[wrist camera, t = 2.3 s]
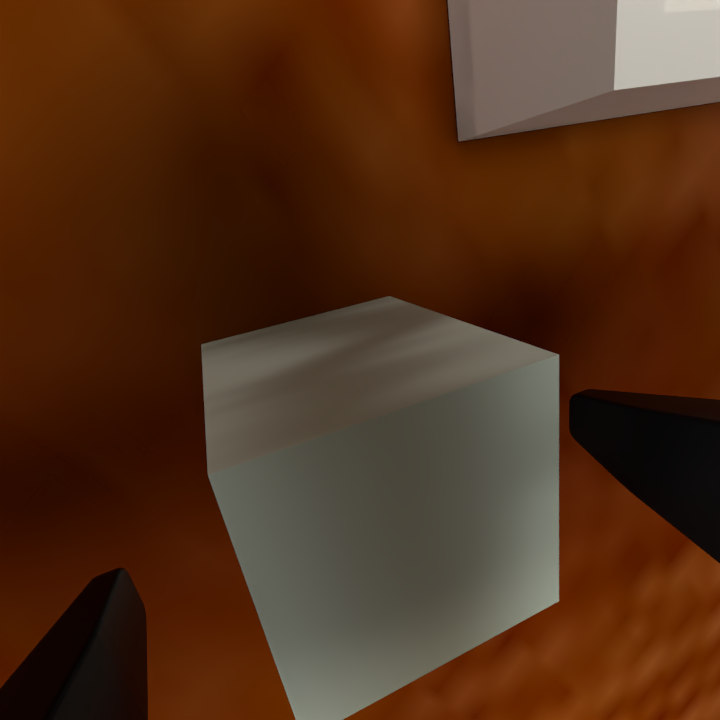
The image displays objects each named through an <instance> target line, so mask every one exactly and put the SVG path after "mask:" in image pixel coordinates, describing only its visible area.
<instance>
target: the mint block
mask: <svg viewBox="0 0 720 720" xmlns="http://www.w3.org/2000/svg"><path fill="white" fill-rule="evenodd" d="M201 352H202V372H203V391H204V411H205V431H206V450H207V470H208V477H209V480H210V483H211V485H212V488H213V491H214V494H215V497H216V499H217V502H218V505H219V508H220V510H221V513H222V516H223V519H224V522H225V524H226V527H227V530H228V533H229V535H230V538H231V541H232V544H233V547H234V549H235V552H236V555H237V558H238V560H239V563H240V566H241V569H242V572H243V574H244V577H245V580H246V583H247V585H248V588H249V591H250V594H251V597H252V599H253V602H254V605H255V608H256V610H257V613H258V616H259V619H260V622H261V624H262V627H263V630H264V633H265V635H266V638H267V641H268V644H269V647H270V649H271V652H272V655H273V658H274V660H275V663H276V666H277V669H278V672H279V674H280V677H281V680H282V683H283V685H284V688H285V691H286V694H287V697H288V699H289V702H290V705H291V708H292V710H293V713H294V716H295V719H296V720H343V719H345V718H346V717H348V716H350V715H352V714H354V713H356V712H357V711H359V710H361V709H363V708H365V707H367V706H368V705H370V704H372V703H374V702H376V701H377V700H379V699H381V698H383V697H385V696H387V695H388V694H390V693H392V692H394V691H396V690H398V689H399V688H401V687H403V686H405V685H407V684H408V683H410V682H412V681H414V680H416V679H418V678H419V677H421V676H423V675H425V674H427V673H429V672H430V671H432V670H434V669H436V668H438V667H439V666H441V665H443V664H445V663H447V662H449V661H450V660H452V659H454V658H456V657H458V656H460V655H461V654H463V653H465V652H467V651H469V650H470V649H472V648H474V647H476V646H478V645H480V644H481V643H483V642H485V641H487V640H489V639H491V638H492V637H494V636H496V635H498V634H500V633H502V632H503V631H505V630H507V629H509V628H511V627H512V626H514V625H516V624H518V623H520V622H522V621H523V620H525V619H527V618H529V617H531V616H533V615H534V614H536V613H538V612H540V611H542V610H543V609H545V608H547V607H549V606H551V605H553V604H554V603H556V602H558V601H559V355H558V354H556V353H553V352H550V351H547V350H544V349H541V348H538V347H535V346H532V345H530V344H527V343H524V342H521V341H518V340H515V339H512V338H509V337H506V336H504V335H501V334H498V333H495V332H492V331H489V330H486V329H483V328H480V327H478V326H475V325H472V324H469V323H466V322H463V321H460V320H457V319H455V318H452V317H449V316H446V315H443V314H440V313H437V312H434V311H431V310H429V309H426V308H423V307H420V306H417V305H414V304H411V303H408V302H405V301H403V300H400V299H397V298H394V297H391V296H387V297H384V298H380V299H376V300H372V301H368V302H364V303H360V304H356V305H352V306H349V307H345V308H341V309H337V310H333V311H329V312H325V313H321V314H317V315H314V316H310V317H306V318H302V319H298V320H294V321H290V322H286V323H282V324H279V325H275V326H271V327H267V328H263V329H259V330H255V331H251V332H247V333H244V334H240V335H236V336H232V337H228V338H224V339H220V340H216V341H212V342H209V343H205V344H201Z"/></svg>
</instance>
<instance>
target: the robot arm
mask: <svg viewBox="0 0 720 720" xmlns="http://www.w3.org/2000/svg"><path fill="white" fill-rule="evenodd" d="M569 430H570V433H571V435H572V437H573V438H574V439H575V440H576V441H577V442H578V443H579V444H580V445H581V446H582V447H583V448H584V449H585V450H586V451H587V452H588V453H589V454H591V455H592V456H593V457H594V458H595V459H596V460H597V461H598V462H599V463H600V464H601V465H602V466H603V467H604V468H605V469H606V470H607V471H609V472H610V473H611V474H612V475H613V476H614V477H615V478H616V479H617V480H618V481H619V482H620V483H621V484H622V485H624V486H625V487H626V488H627V489H628V490H629V491H630V492H631V493H633V494H634V495H635V496H636V497H637V498H639V499H640V500H641V501H642V502H644V503H645V504H646V505H647V506H649V507H650V508H651V509H652V510H654V511H655V512H656V513H657V514H659V515H660V516H661V517H662V518H664V519H665V520H666V521H667V522H669V523H670V524H671V525H672V526H674V527H675V528H676V529H677V530H679V531H680V532H681V533H682V534H684V535H685V536H686V537H687V538H689V539H690V540H691V541H692V542H694V543H695V544H696V545H697V546H699V547H700V548H701V549H702V550H704V551H705V552H706V553H707V554H709V555H710V556H711V557H712V558H714V559H715V560H716V561H717V562H719V563H720V400H715V399H703V398H691V397H679V396H667V395H655V394H643V393H631V392H619V391H607V390H595V389H588V390H584V391H581V392H579V393H576V394H574V395H573V396H572V397H571V399H570V402H569ZM0 720H148V688H147V633H146V612H145V608H144V604H143V602H142V600H141V598H140V596H139V594H138V592H137V590H136V588H135V586H134V584H133V582H132V580H131V578H130V576H129V574H128V572H127V571H126V570H125V569H124V568H117V569H114V570H112V571H109V572H106V573H104V574H101V575H99V576H96V577H95V578H93V579H92V580H91V581H90V583H89V584H88V585H87V586H86V587H85V588H84V590H83V591H82V592H81V593H80V594H79V596H78V597H77V598H76V599H75V600H74V602H73V603H72V604H71V605H70V606H69V608H68V609H67V610H66V611H65V612H64V613H63V615H62V616H61V617H60V618H59V619H58V621H57V622H56V623H55V624H54V625H53V627H52V628H51V629H50V630H49V631H48V633H47V634H46V635H45V636H44V637H43V638H42V640H41V641H40V642H39V643H38V644H37V646H36V647H35V648H34V649H33V650H32V652H31V653H30V654H29V655H28V656H27V657H26V659H25V660H24V661H23V662H22V663H21V665H20V666H19V667H18V668H17V669H16V671H15V672H14V673H13V674H12V675H11V677H10V678H9V679H8V680H7V681H6V682H5V684H4V685H3V686H2V687H1V688H0Z"/></svg>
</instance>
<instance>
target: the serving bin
mask: <svg viewBox="0 0 720 720" xmlns="http://www.w3.org/2000/svg"><path fill="white" fill-rule="evenodd" d="M448 14H449V27H450V40H451V53H452V66H453V79H454V92H455V105H456V118H457V131H458V142H459V141H466V140H472V139H479V138H486V137H492V136H499V135H505V134H512V133H518V132H525V131H531V130H538V129H545V128H551V127H558V126H564V125H571V124H577V123H584V122H591V121H597V120H604V119H610V118H617V117H623V116H630V115H637V114H643V113H650V112H656V111H663V110H669V109H676V108H682V107H689V106H696V105H702V104H709V103H715V102H720V0H448Z"/></svg>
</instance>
